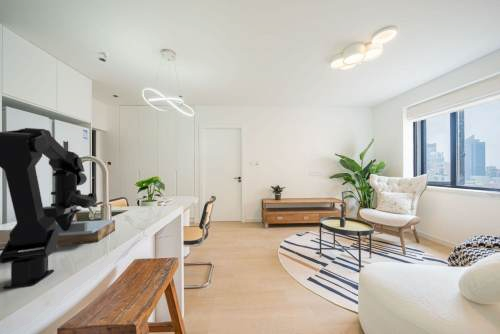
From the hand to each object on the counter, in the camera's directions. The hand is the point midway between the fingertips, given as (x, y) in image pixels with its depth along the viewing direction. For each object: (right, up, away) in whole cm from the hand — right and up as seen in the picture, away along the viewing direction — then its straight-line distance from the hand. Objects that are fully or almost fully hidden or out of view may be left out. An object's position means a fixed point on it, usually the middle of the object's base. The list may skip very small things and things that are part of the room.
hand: (65, 230), depth 67 cm
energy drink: (-19, -8, +19) cm, 28 cm away
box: (-3, -7, +13) cm, 15 cm away
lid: (-2, -2, +9) cm, 9 cm away
